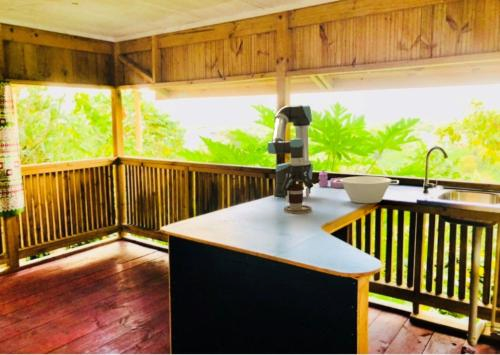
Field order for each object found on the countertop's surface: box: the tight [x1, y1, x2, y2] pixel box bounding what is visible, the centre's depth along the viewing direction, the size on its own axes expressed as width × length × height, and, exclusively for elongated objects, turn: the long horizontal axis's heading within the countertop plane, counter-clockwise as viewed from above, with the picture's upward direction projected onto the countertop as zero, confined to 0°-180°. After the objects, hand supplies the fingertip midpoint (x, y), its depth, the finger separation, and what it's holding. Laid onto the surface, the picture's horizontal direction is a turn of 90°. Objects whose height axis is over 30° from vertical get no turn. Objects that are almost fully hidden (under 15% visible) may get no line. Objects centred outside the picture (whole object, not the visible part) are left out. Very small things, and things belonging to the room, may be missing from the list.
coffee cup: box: [288, 183, 305, 210], centre depth 237 cm, size 10×10×15 cm
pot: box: [333, 175, 400, 205], centre depth 259 cm, size 40×32×14 cm
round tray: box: [283, 204, 313, 215], centre depth 239 cm, size 16×16×2 cm
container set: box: [318, 169, 345, 189], centre depth 322 cm, size 25×15×13 cm, turn 66°
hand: (297, 200), depth 238 cm, fingers open, 13 cm apart
